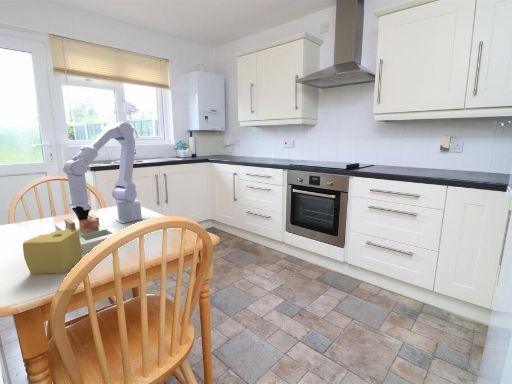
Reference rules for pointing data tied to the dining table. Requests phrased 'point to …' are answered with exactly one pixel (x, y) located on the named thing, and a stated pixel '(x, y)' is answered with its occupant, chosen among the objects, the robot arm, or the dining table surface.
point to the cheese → (52, 252)
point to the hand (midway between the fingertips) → (83, 224)
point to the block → (88, 225)
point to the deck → (90, 238)
